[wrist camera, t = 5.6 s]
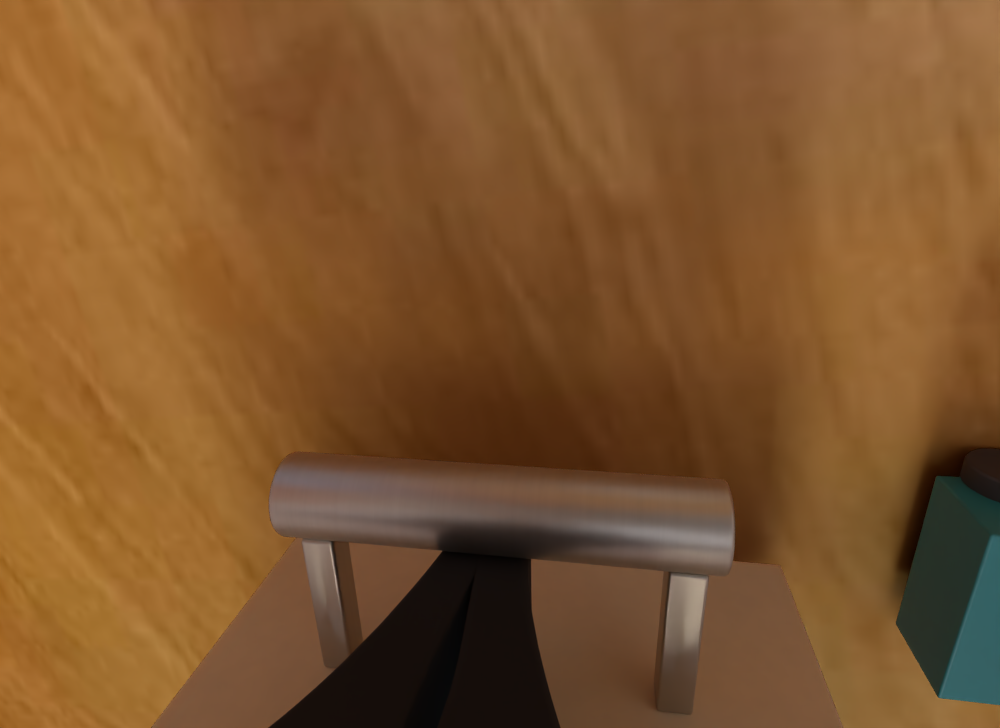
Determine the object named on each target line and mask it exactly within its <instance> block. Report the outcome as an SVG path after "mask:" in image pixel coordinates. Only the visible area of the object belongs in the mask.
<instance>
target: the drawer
mask: <svg viewBox="0 0 1000 728" xmlns="http://www.w3.org/2000/svg"><path fill="white" fill-rule="evenodd" d="M269 514H270V520H271V523H272V526H273V528H274V529H275V531H276V532H277V533H278V534H280V535H282V536H285V537H296V539H295V540H294V542H293V543H292V544H291V545H290V547H289V548H288V549H287V551H286V552H285V553H284V555H283V556H282V557H281V559H280V560H279V561H278V562H277V564H276V565H275V566H274V568H273V569H272V570H271V572H270V573H269V574H268V576H267V577H266V578H265V579H264V581H263V582H262V583H261V585H260V586H259V587H258V589H257V590H256V591H255V593H254V594H253V595H252V596H251V598H250V599H249V600H248V602H247V603H246V604H245V606H244V607H243V608H242V610H241V611H240V612H239V613H238V615H237V616H236V617H235V619H234V620H233V621H232V623H231V624H230V625H229V627H228V628H227V629H226V630H225V632H224V633H223V634H222V636H221V637H220V638H219V640H218V641H217V642H216V644H215V645H214V646H213V647H212V649H211V650H210V651H209V653H208V654H207V655H206V657H205V658H204V659H203V661H202V662H201V663H200V664H199V666H198V667H197V668H196V670H195V671H194V672H193V674H192V675H191V676H190V678H189V679H188V680H187V681H186V683H185V684H184V685H183V687H182V688H181V689H180V691H179V692H178V693H177V695H176V696H175V697H174V698H173V700H172V701H171V702H170V704H169V705H168V706H167V708H166V709H165V710H164V712H163V713H162V714H161V715H160V717H159V718H158V719H157V721H156V722H155V723H154V725H153V726H152V727H151V728H268V727H270V726H271V725H272V724H273V723H275V722H276V721H277V720H278V719H280V718H281V717H282V716H283V715H285V714H286V713H287V712H288V711H289V710H290V709H292V708H293V707H294V706H295V705H296V704H297V703H299V702H300V701H301V700H302V699H303V698H304V697H305V696H307V695H308V694H309V693H310V692H311V691H312V690H313V689H315V688H316V687H317V686H318V685H319V684H320V683H321V682H322V681H323V680H324V679H325V678H327V677H328V676H329V675H330V674H331V673H332V672H333V671H334V670H335V669H336V668H337V667H338V666H339V665H340V664H341V663H342V662H343V661H344V660H345V659H346V658H347V657H348V656H349V655H350V654H351V653H352V652H353V651H354V650H355V649H356V648H357V647H358V646H359V645H360V644H361V643H362V642H363V641H364V640H365V639H366V638H367V637H368V636H369V635H370V634H371V633H372V632H373V631H374V630H375V629H376V628H377V627H378V626H379V625H380V624H381V623H382V622H383V620H384V619H385V618H386V617H387V616H388V615H389V614H390V613H391V612H392V610H393V609H394V608H395V607H396V606H397V605H398V604H399V602H400V601H401V600H402V599H403V598H404V597H405V596H406V595H407V593H408V592H409V591H410V590H411V589H412V588H413V587H414V585H415V584H416V583H417V582H418V581H419V579H420V578H421V577H422V576H423V575H424V573H425V572H426V571H427V570H428V568H429V567H430V566H431V565H432V564H433V562H434V561H435V560H436V558H437V557H438V556H439V555H440V553H441V552H442V551H449V552H460V553H471V554H482V555H493V556H504V557H515V558H526V559H531V592H532V615H533V620H534V626H535V631H536V636H537V641H538V646H539V651H540V655H541V659H542V664H543V668H544V671H545V675H546V679H547V683H548V687H549V691H550V694H551V697H552V701H553V704H554V708H555V711H556V714H557V718H558V721H559V724H560V727H561V728H843V726H842V723H841V721H840V718H839V715H838V713H837V710H836V708H835V705H834V703H833V700H832V697H831V695H830V692H829V690H828V687H827V684H826V682H825V679H824V677H823V674H822V671H821V669H820V666H819V664H818V661H817V659H816V656H815V653H814V651H813V648H812V646H811V643H810V640H809V638H808V635H807V633H806V630H805V627H804V625H803V622H802V620H801V617H800V614H799V612H798V609H797V607H796V604H795V602H794V599H793V596H792V594H791V591H790V589H789V586H788V583H787V581H786V578H785V576H784V573H783V570H782V568H781V566H780V565H774V564H762V563H751V562H739V561H733V558H734V550H735V513H734V504H733V498H732V494H731V490H730V487H729V485H728V483H727V482H726V481H725V480H723V479H711V478H696V477H680V476H665V475H650V474H634V473H619V472H604V471H588V470H573V469H557V468H542V467H527V466H511V465H496V464H481V463H465V462H450V461H434V460H419V459H404V458H388V457H373V456H358V455H342V454H327V453H311V452H294V453H291V454H289V455H287V456H286V457H285V458H284V459H283V461H282V462H281V463H280V465H279V467H278V468H277V470H276V473H275V475H274V478H273V481H272V484H271V489H270V495H269Z"/></svg>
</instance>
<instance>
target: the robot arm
mask: <svg viewBox="0 0 1000 728" xmlns="http://www.w3.org/2000/svg"><path fill="white" fill-rule="evenodd" d="M268 728H561V727H560V724H559V721H558V718H557V714H556V711H555V708H554V704H553V701H552V697H551V694H550V691H549V687H548V683H547V679H546V675H545V671H544V668H543V664H542V659H541V655H540V651H539V646H538V641H537V636H536V631H535V626H534V620H533V615H532V592H531V559H526V558H515V557H504V556H493V555H482V554H471V553H460V552H449V551H442V552H441V553H440V555H439V556H438V557H437V558H436V560H435V561H434V562H433V564H432V565H431V566H430V567H429V568H428V570H427V571H426V572H425V573H424V575H423V576H422V577H421V578H420V579H419V581H418V582H417V583H416V584H415V585H414V587H413V588H412V589H411V590H410V591H409V592H408V593H407V595H406V596H405V597H404V598H403V599H402V600H401V601H400V602H399V604H398V605H397V606H396V607H395V608H394V609H393V610H392V612H391V613H390V614H389V615H388V616H387V617H386V618H385V619H384V620H383V622H382V623H381V624H380V625H379V626H378V627H377V628H376V629H375V630H374V631H373V632H372V633H371V634H370V635H369V636H368V637H367V638H366V639H365V640H364V641H363V642H362V643H361V644H360V645H359V646H358V647H357V648H356V649H355V650H354V651H353V652H352V653H351V654H350V655H349V656H348V657H347V658H346V659H345V660H344V661H343V662H342V663H341V664H340V665H339V666H338V667H337V668H336V669H335V670H334V671H333V672H332V673H331V674H330V675H329V676H328V677H327V678H325V679H324V680H323V681H322V682H321V683H320V684H319V685H318V686H317V687H316V688H315V689H313V690H312V691H311V692H310V693H309V694H308V695H307V696H305V697H304V698H303V699H302V700H301V701H300V702H299V703H297V704H296V705H295V706H294V707H293V708H292V709H290V710H289V711H288V712H287V713H286V714H285V715H283V716H282V717H281V718H280V719H278V720H277V721H276V722H275V723H273V724H272V725H271V726H270V727H268Z"/></svg>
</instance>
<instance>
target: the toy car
mask: <svg viewBox="0 0 1000 728" xmlns="http://www.w3.org/2000/svg"><path fill="white" fill-rule="evenodd" d="M896 625H897V627H898V628H899V630H900V632H901V634H902V635H903V637H904V639H905V640H906V642H907V644H908V646H909V647H910V649H911V651H912V653H913V654H914V656H915V658H916V660H917V661H918V663H919V665H920V667H921V668H922V670H923V672H924V674H925V675H926V677H927V679H928V681H929V682H930V684H931V686H932V688H933V689H934V691H935V693H936V695H937V696H938V697H939V698H943V699H952V700H961V701H969V702H978V703H986V704H995V705H1000V449H990V448H986V449H977V450H973V451H971V452H969V453H968V454H967V455H966V456H965V459H964V462H963V465H962V469H961V472H960V476H959V477H950V476H937V477H936V479H935V483H934V486H933V490H932V494H931V497H930V501H929V504H928V508H927V512H926V515H925V519H924V523H923V526H922V530H921V533H920V537H919V541H918V544H917V548H916V552H915V555H914V559H913V562H912V566H911V570H910V573H909V577H908V581H907V584H906V588H905V592H904V595H903V599H902V602H901V606H900V610H899V613H898V617H897V621H896Z"/></svg>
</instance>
